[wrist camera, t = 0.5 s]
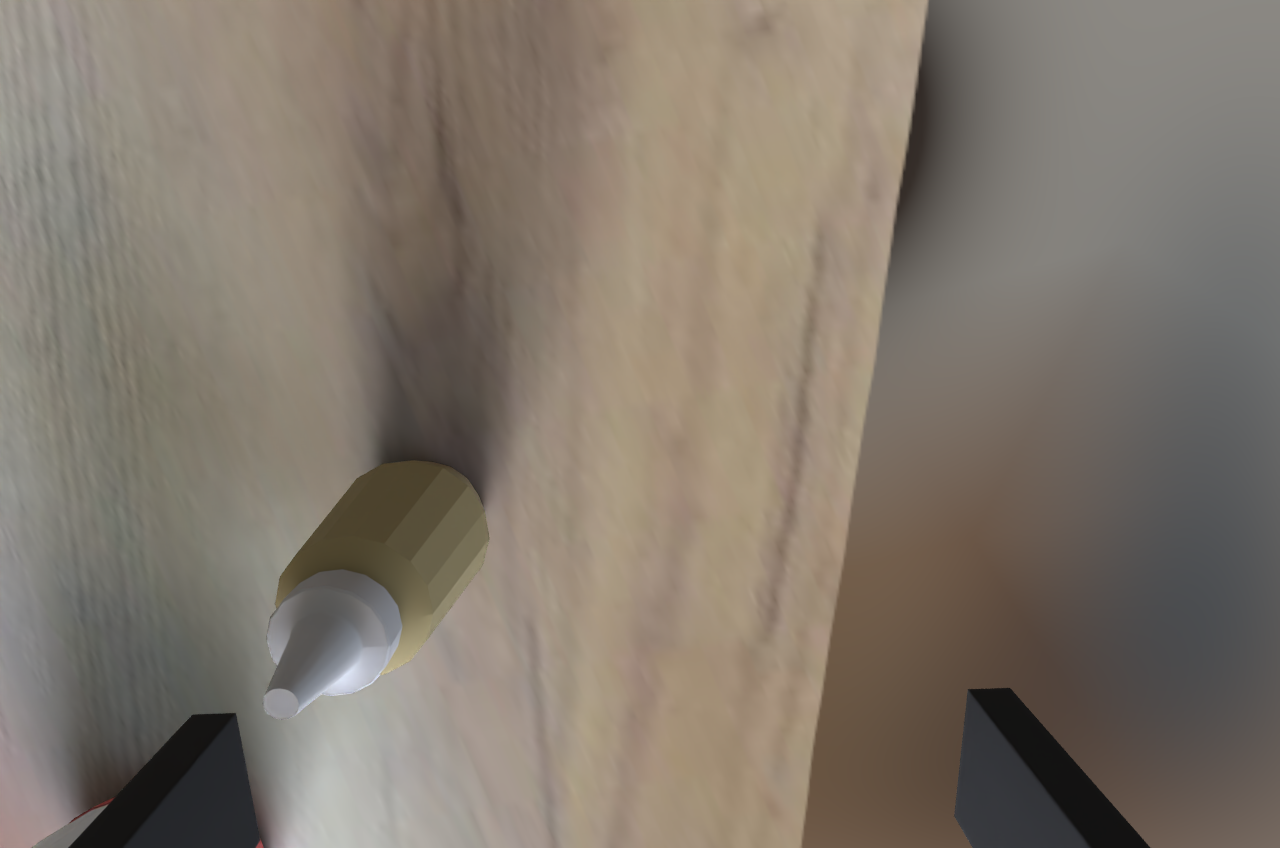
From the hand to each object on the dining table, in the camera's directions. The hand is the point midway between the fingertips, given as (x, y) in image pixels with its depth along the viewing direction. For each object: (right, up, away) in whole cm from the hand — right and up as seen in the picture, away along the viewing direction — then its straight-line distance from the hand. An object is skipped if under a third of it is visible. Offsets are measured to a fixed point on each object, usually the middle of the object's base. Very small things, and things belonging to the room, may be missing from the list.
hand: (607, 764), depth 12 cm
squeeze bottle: (-12, +1, +28) cm, 30 cm away
